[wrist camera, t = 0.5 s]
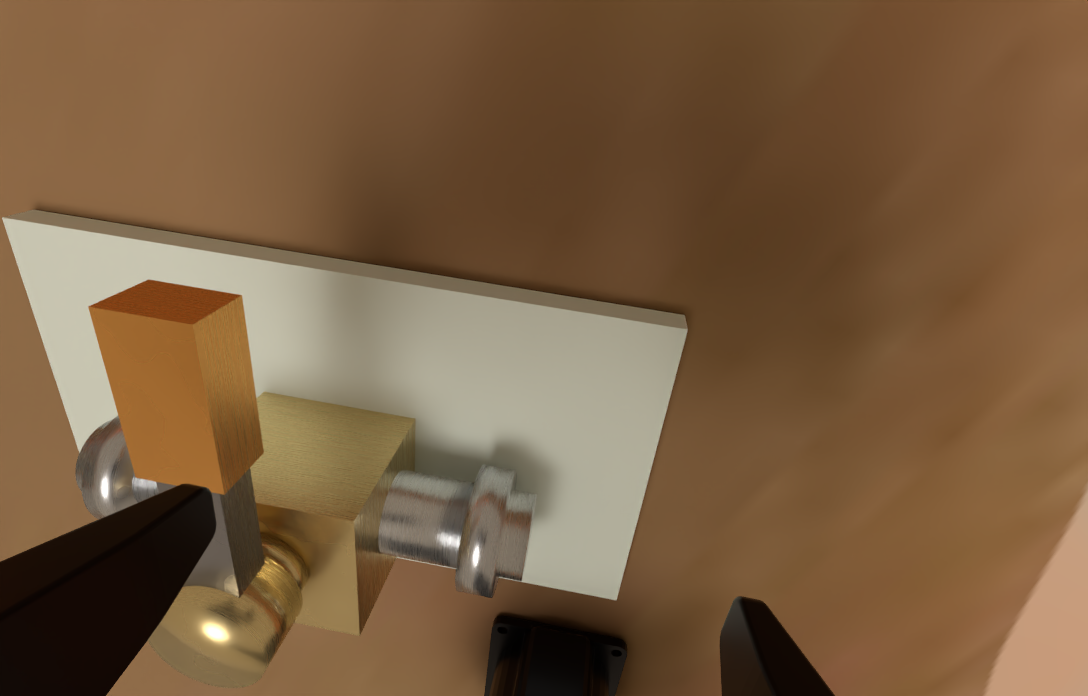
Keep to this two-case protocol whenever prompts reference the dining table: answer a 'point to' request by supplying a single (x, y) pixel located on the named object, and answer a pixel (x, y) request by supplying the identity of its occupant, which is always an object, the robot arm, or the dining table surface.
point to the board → (403, 367)
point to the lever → (200, 468)
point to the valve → (347, 506)
